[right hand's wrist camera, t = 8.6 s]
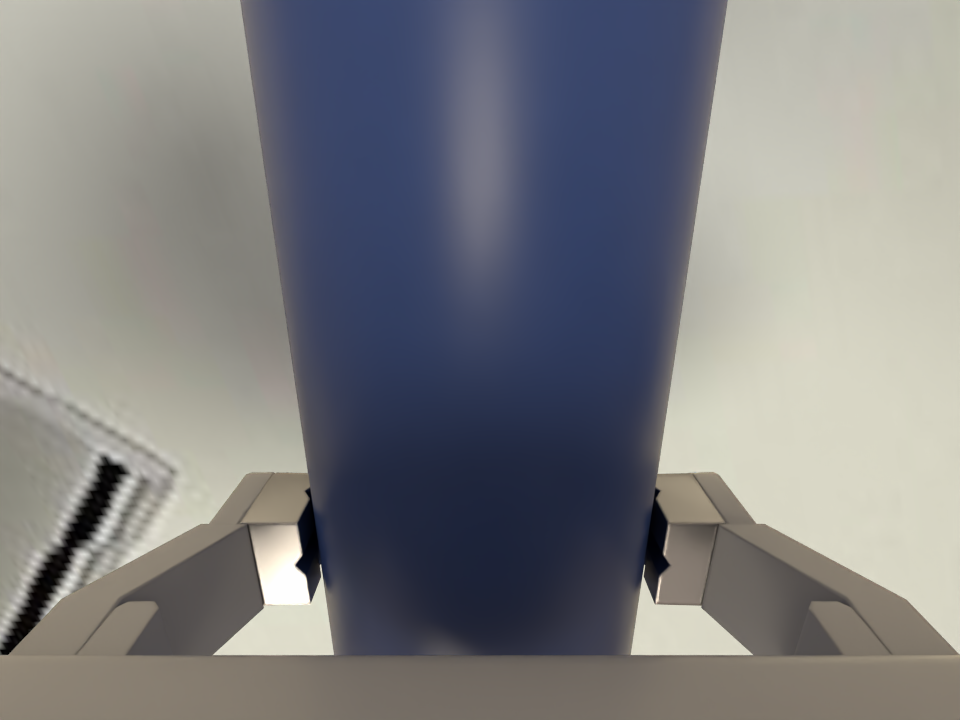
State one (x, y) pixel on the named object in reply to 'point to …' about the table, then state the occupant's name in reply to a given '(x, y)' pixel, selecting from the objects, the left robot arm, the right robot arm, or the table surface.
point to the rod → (483, 300)
